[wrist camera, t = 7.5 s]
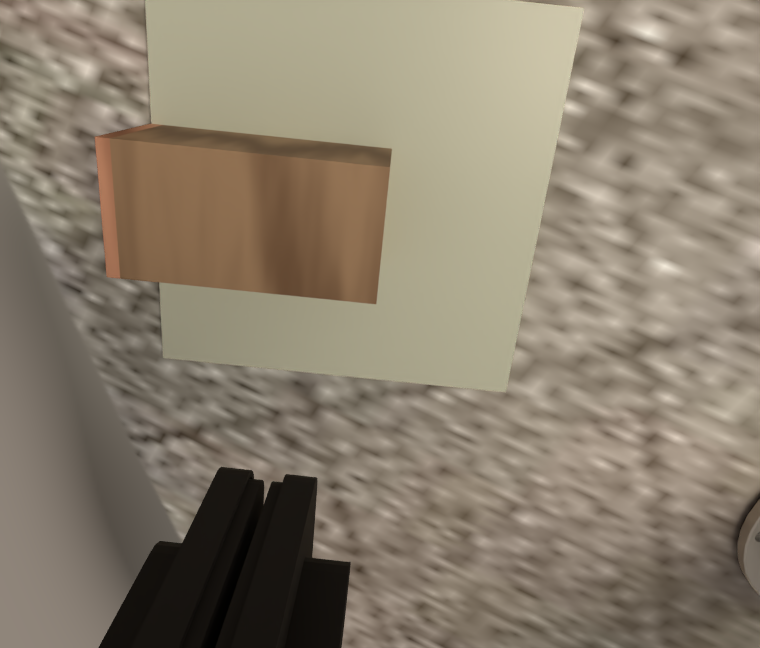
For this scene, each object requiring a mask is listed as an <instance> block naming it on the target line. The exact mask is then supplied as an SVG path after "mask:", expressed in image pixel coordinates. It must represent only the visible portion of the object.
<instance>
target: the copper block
mask: <svg viewBox="0 0 760 648" xmlns="http://www.w3.org/2000/svg"><path fill="white" fill-rule="evenodd" d="M95 145H96V156H97V168H98V180H99V191H100V203H101V215H102V227H103V238H104V250H105V262H106V273H107V277H111V278H121V279H131V280H141V281H151V282H161V283H170V284H180V285H190V286H200V287H210V288H220V289H230V290H240V291H249V292H259V293H269V294H279V295H289V296H299V297H309V298H319V299H328V300H338V301H348V302H358V303H368V304H376V302H377V293H378V283H379V273H380V263H381V253H382V243H383V233H384V223H385V213H386V204H387V194H388V184H389V174H390V164H391V154H392V149H390V148H381V147H371V146H361V145H352V144H342V143H332V142H323V141H313V140H303V139H294V138H284V137H275V136H265V135H255V134H246V133H236V132H226V131H217V130H207V129H197V128H188V127H178V126H169V125H159V124H147V125H143V126H139V127H135V128H130V129H126V130H122V131H117V132H113V133H109V134H105V135H100V136H96V137H95Z"/></svg>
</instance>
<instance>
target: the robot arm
mask: <svg viewBox="0 0 760 648" xmlns="http://www.w3.org/2000/svg"><path fill="white" fill-rule="evenodd" d="M316 495H317V478H316V477H307V476H298V475H289V474H286V475H285V477H284V480H283V482H274V481H273V482H272V483H271V485H270V488H269V491H268V494H267V497H266V500H265V503H264V481H263V480H256V479H254V474H253V471H252V470H244V469H235V468H226V467H220V468H219V470H218V471H217V473H216V475H215V477H214V479H213V481H212V483H211V485H210V487H209V489H208V491H207V493H206V496H205V498H204V500H203V502H202V504H201V506H200V508H199V510H198V512H197V514H196V516H195V518H194V520H193V522H192V524H191V526H190V528H189V530H188V533H187V535H186V537H185V539H184V541H183V543H173V542H164V541H159V542H158V543H157V544H156V545H155V546H154V548H153V549H152V551H151V553H150V554H149V556H148V558H147V560H146V561H145V563H144V565H143V567H142V569H141V571H140V572H139V574H138V576H137V578H136V580H135V582H134V584H133V585H132V587H131V589H130V591H129V593H128V594H127V596H126V598H125V600H124V602H123V604H122V605H121V607H120V609H119V611H118V613H117V615H116V617H115V618H114V620H113V622H112V624H111V626H110V627H109V629H108V631H107V633H106V635H105V637H104V639H103V640H102V642H101V644H100V646H99V648H341V646H342V638H343V629H344V620H345V611H346V602H347V593H348V583H349V574H350V563H351V562H343V561H334V560H325V559H316V558H312V551H313V537H314V523H315V509H316ZM263 505H264V506H263ZM737 550H738V561H739V564H740V567H741V571H742V572H743V574H744V575H745V577H746V579H747V580H748V582H749V583H750V585H751V586H752V588H753V589H754V590H755V591H756V592H757V594H758V595H759V596H760V499H759V500H758V502H757V503H756V504H755V506H754V507H753V508H752V510H751V511H750V512H749V514H748V515H747V517H746V520H745V522H744V524H743V526H742V528H741V531H740V535H739V539H738V543H737Z"/></svg>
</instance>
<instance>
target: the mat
mask: <svg viewBox="0 0 760 648" xmlns="http://www.w3.org/2000/svg"><path fill="white" fill-rule="evenodd" d="M145 8H146V28H147V48H148V68H149V88H150V108H151V124H159V125H169V126H178V127H188V128H197V129H207V130H217V131H226V132H236V133H246V134H255V135H265V136H275V137H284V138H294V139H303V140H313V141H323V142H332V143H342V144H352V145H361V146H371V147H381V148H390V149H392V154H391V164H390V174H389V184H388V194H387V204H386V213H385V223H384V233H383V243H382V253H381V263H380V273H379V283H378V293H377V302H376V304H368V303H358V302H348V301H338V300H328V299H319V298H309V297H299V296H289V295H279V294H269V293H259V292H249V291H240V290H230V289H220V288H210V287H200V286H190V285H180V284H170V283H161V282H159V289H160V309H161V329H162V349H163V358H167V359H177V360H187V361H197V362H207V363H217V364H227V365H237V366H247V367H257V368H267V369H277V370H287V371H297V372H307V373H317V374H327V375H337V376H347V377H357V378H367V379H377V380H387V381H397V382H407V383H417V384H427V385H437V386H447V387H457V388H467V389H477V390H487V391H497V392H506V389H507V384H508V379H509V374H510V369H511V364H512V359H513V355H514V350H515V345H516V340H517V335H518V330H519V325H520V320H521V315H522V310H523V305H524V301H525V296H526V291H527V286H528V281H529V276H530V271H531V266H532V261H533V256H534V252H535V247H536V242H537V237H538V232H539V227H540V222H541V217H542V212H543V207H544V203H545V198H546V193H547V188H548V183H549V178H550V173H551V168H552V163H553V158H554V154H555V149H556V144H557V139H558V134H559V129H560V124H561V119H562V114H563V109H564V105H565V100H566V95H567V90H568V85H569V80H570V75H571V70H572V65H573V60H574V56H575V51H576V46H577V41H578V36H579V31H580V26H581V21H582V16H583V11H584V8H579V7H569V6H560V5H551V4H541V3H532V2H522V1H513V0H145Z"/></svg>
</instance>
